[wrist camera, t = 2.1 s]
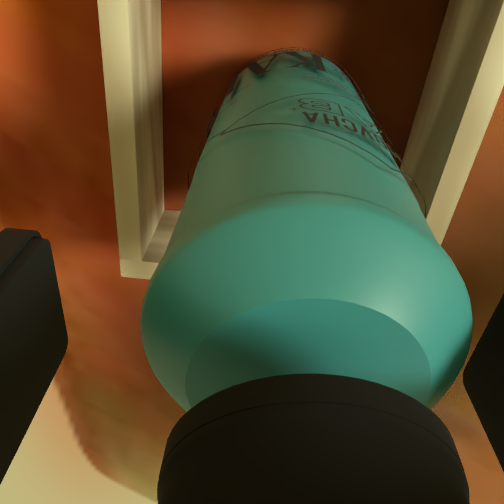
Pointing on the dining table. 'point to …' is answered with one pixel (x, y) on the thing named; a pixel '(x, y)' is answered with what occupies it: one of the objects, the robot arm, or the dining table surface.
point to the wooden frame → (415, 156)
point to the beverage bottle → (305, 308)
